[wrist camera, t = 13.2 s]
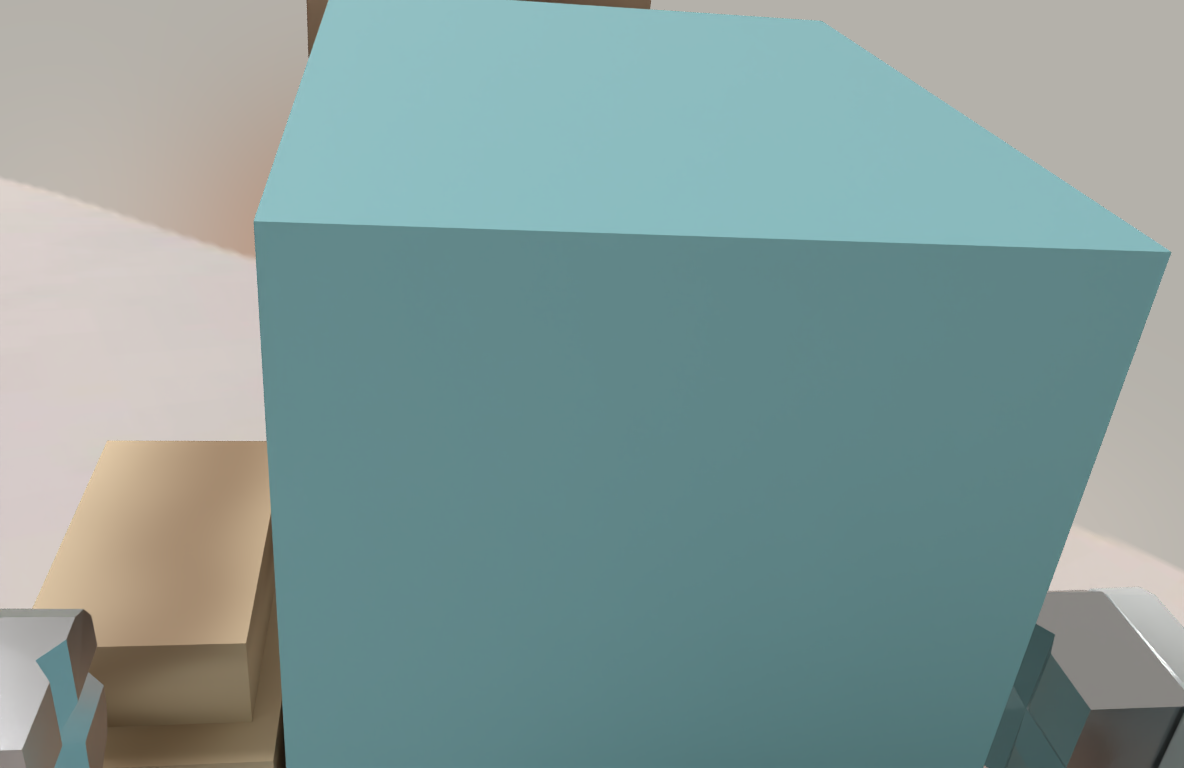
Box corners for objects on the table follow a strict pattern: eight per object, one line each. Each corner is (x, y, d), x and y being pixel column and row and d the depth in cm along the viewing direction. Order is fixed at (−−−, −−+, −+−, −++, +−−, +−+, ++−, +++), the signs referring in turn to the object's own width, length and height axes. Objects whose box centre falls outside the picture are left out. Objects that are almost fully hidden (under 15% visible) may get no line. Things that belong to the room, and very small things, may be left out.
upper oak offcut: (30, 729, 21) (14, 649, 20) (117, 511, 27) (107, 440, 26) (251, 721, 22) (245, 643, 21) (287, 510, 28) (284, 441, 27)
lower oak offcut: (2, 848, 21) (-15, 772, 20) (114, 551, 29) (105, 487, 28) (278, 833, 22) (272, 761, 21) (314, 549, 30) (311, 486, 29)
